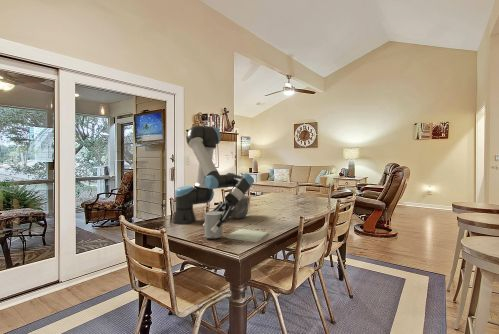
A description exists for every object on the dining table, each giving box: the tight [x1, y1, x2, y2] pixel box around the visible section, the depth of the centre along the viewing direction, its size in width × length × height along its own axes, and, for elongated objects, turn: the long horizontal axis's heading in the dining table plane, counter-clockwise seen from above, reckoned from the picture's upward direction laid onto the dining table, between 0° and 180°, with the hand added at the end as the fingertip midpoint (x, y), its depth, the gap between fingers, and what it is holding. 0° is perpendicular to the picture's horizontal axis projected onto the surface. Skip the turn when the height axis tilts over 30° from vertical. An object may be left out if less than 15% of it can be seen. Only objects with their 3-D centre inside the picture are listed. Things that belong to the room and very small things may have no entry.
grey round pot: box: [224, 194, 250, 219], centre depth 196 cm, size 18×18×15 cm
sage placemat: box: [225, 228, 269, 243], centre depth 152 cm, size 18×16×1 cm
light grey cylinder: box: [204, 210, 223, 239], centre depth 149 cm, size 10×10×12 cm
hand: (208, 229), depth 147 cm, fingers closed on light grey cylinder, 9 cm apart
